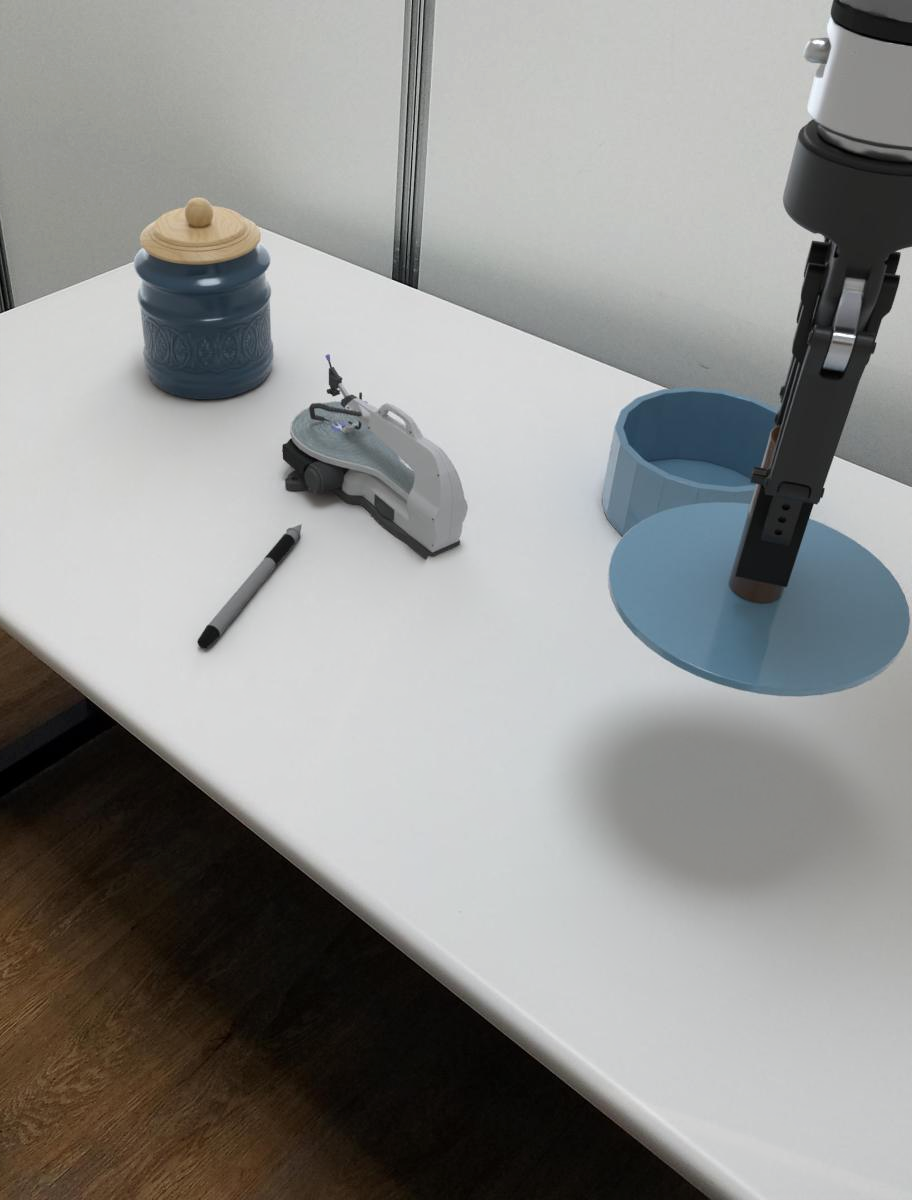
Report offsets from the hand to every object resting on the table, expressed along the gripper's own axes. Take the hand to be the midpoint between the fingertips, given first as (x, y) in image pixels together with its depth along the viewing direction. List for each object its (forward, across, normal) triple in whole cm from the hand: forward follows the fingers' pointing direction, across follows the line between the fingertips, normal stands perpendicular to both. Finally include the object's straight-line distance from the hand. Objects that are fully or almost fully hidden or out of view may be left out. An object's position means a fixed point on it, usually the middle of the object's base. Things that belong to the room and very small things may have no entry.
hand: (765, 557), depth 66 cm
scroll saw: (+19, -23, -30) cm, 43 cm away
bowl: (+19, -31, -4) cm, 37 cm away
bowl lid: (+3, 0, 0) cm, 3 cm away
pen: (+19, -8, -35) cm, 41 cm away
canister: (+19, -38, -53) cm, 68 cm away
